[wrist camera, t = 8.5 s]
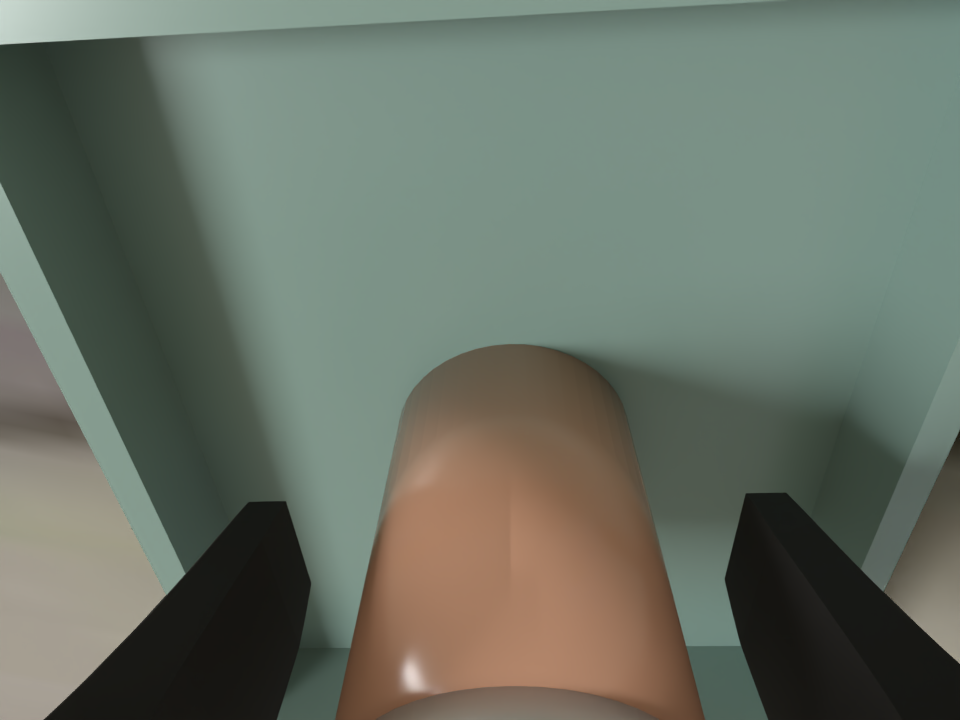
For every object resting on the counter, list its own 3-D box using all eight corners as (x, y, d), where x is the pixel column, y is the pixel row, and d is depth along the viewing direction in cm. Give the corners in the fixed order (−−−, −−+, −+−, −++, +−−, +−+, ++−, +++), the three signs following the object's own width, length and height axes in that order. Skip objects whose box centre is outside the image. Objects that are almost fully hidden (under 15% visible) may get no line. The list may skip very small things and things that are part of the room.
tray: (1029, -85, 8) (1204, -92, 6) (778, 638, 17) (816, 735, 15) (3, -22, 9) (-145, -10, 7) (268, 641, 18) (237, 733, 16)
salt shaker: (636, 339, 11) (777, 762, 6) (621, 518, 14) (707, 936, 8) (382, 349, 12) (261, 760, 6) (412, 522, 14) (349, 930, 8)
